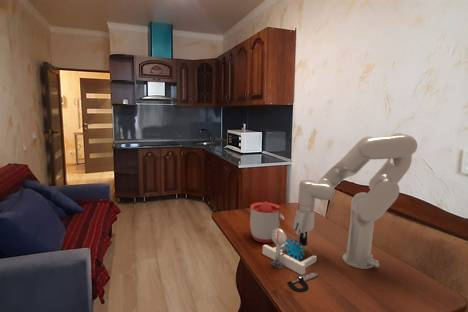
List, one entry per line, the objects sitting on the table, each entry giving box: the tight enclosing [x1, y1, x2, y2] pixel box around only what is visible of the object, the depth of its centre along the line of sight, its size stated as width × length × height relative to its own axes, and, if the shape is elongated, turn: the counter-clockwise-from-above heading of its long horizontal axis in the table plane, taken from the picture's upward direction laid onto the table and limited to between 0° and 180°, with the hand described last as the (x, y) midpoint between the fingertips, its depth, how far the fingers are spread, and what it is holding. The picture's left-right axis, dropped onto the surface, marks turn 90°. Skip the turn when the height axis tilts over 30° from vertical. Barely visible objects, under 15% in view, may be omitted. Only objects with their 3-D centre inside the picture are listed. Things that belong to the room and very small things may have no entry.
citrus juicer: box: [249, 201, 285, 244], centre depth 146 cm, size 16×17×20 cm
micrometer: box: [287, 272, 319, 293], centre depth 109 cm, size 15×7×2 cm, turn 118°
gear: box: [284, 238, 307, 261], centre depth 130 cm, size 11×6×10 cm
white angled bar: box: [262, 241, 317, 276], centre depth 127 cm, size 22×14×4 cm, turn 41°
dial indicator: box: [269, 227, 288, 270], centre depth 121 cm, size 7×6×16 cm
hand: (302, 244), depth 133 cm, fingers closed
